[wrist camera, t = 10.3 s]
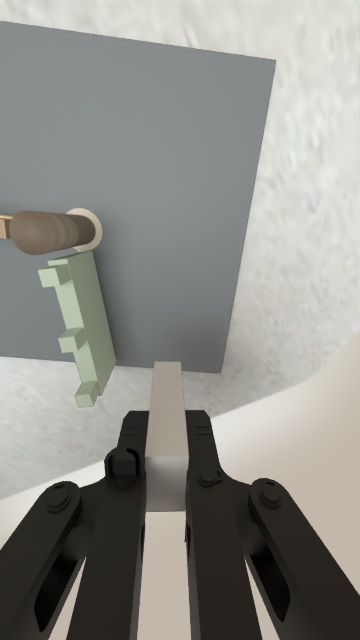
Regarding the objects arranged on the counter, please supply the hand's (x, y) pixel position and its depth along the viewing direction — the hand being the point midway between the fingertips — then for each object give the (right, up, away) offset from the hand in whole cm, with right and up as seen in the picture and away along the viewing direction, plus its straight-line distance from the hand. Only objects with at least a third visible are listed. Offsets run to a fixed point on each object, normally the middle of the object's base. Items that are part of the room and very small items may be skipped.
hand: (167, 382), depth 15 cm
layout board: (-7, +11, +6) cm, 14 cm away
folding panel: (-6, +4, +7) cm, 11 cm away
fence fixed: (-12, +11, +5) cm, 17 cm away
